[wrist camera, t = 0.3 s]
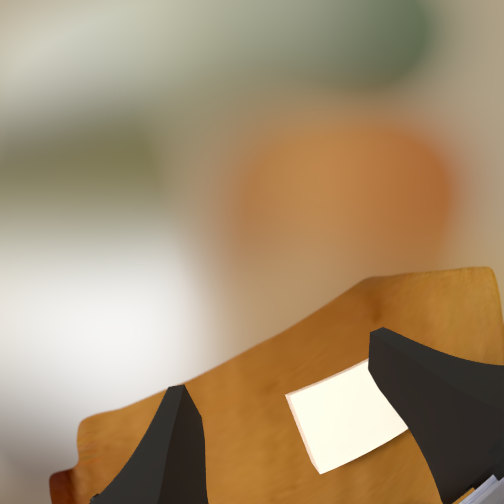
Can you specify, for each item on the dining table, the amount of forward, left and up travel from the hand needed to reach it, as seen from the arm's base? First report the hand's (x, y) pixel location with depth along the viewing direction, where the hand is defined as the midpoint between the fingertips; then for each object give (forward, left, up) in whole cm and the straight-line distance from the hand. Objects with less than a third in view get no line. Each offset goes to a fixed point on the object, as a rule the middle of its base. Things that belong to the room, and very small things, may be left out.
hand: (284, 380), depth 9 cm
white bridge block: (-8, -11, -31) cm, 34 cm away
